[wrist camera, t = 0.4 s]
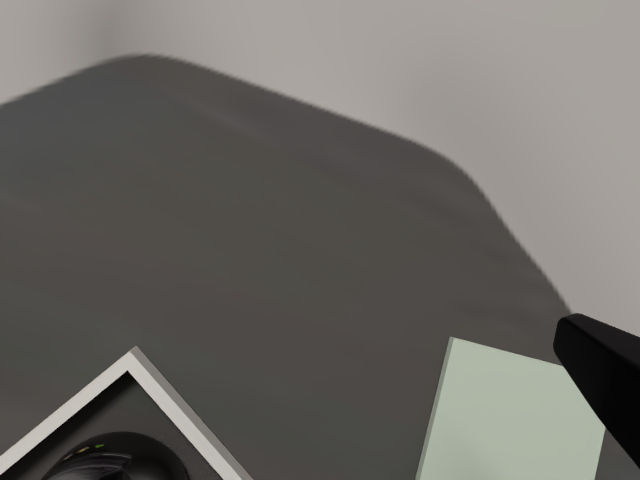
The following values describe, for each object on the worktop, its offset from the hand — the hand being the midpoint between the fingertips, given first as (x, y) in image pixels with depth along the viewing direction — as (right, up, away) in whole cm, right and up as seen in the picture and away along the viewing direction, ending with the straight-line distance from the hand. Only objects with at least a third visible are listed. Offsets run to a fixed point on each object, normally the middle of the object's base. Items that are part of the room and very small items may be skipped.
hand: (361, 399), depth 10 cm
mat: (+9, -10, +17) cm, 22 cm away
